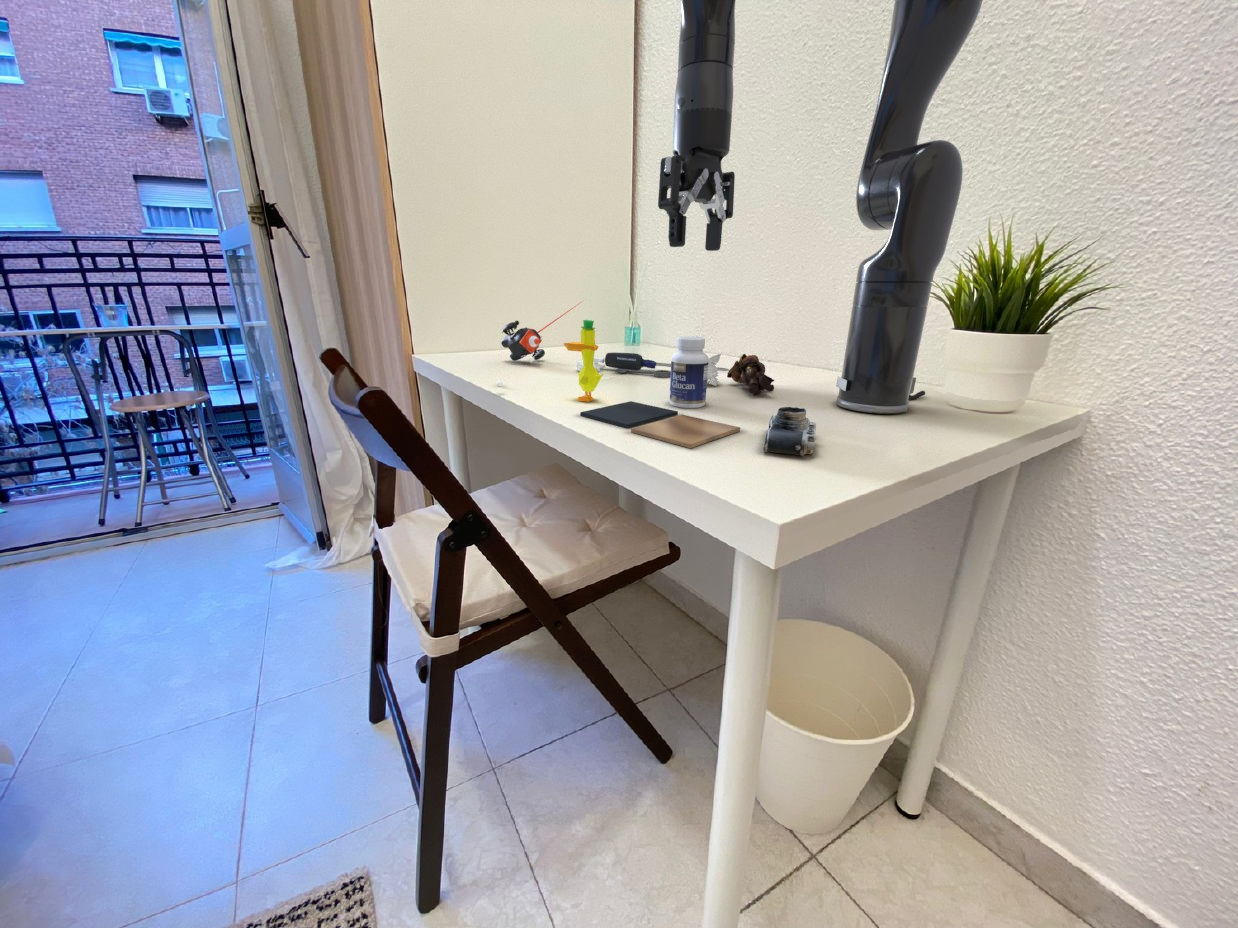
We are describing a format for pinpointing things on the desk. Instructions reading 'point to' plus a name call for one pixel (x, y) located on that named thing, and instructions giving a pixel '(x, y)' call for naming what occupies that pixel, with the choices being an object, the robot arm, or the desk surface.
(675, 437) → the copper plate
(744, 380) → the figurine
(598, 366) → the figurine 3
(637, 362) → the screwdriver
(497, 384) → the sphere
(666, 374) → the key
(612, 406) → the rubber mat
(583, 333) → the toy figure
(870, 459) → the desk surface
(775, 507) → the desk surface
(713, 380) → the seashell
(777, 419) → the camera
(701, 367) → the pill bottle
